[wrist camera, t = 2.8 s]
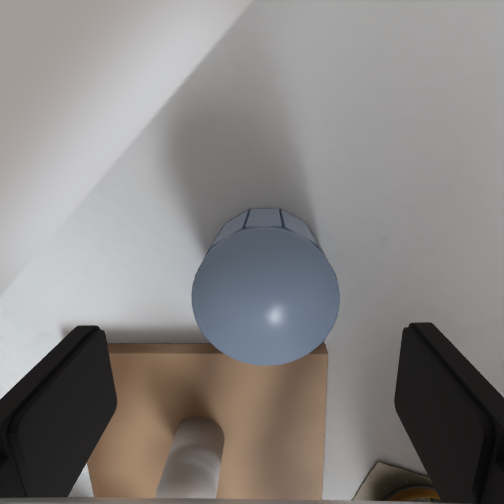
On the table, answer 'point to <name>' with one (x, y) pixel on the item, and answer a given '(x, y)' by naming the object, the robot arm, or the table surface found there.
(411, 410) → the robot arm
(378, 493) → the condiment
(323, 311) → the cap
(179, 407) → the post base
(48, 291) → the table surface
